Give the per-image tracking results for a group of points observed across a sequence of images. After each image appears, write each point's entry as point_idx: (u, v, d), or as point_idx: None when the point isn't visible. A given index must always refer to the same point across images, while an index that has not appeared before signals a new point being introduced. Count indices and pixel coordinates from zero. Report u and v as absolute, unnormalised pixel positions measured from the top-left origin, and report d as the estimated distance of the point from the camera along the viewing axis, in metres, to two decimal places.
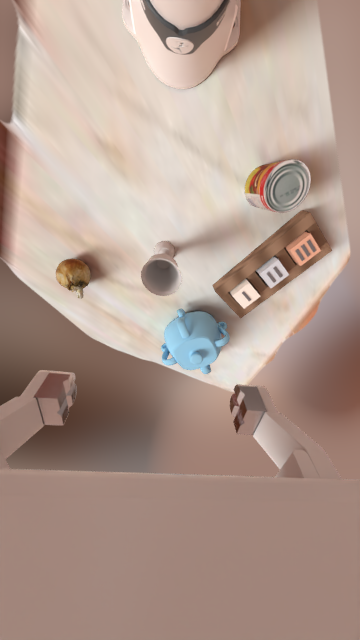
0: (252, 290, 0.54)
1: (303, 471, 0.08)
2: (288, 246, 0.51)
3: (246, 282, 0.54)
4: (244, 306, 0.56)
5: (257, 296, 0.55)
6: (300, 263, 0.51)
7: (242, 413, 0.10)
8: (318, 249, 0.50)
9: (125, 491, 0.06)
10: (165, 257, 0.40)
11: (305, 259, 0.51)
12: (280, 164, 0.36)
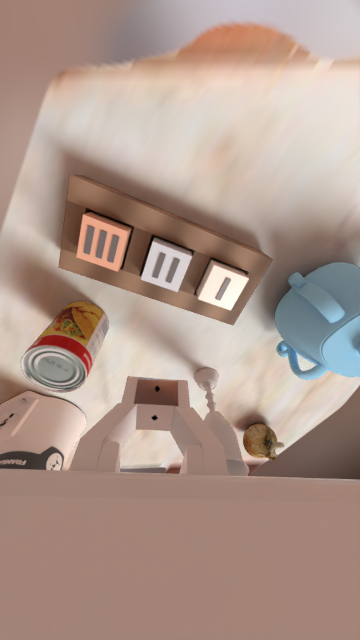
0: (208, 286, 0.29)
1: (189, 467, 0.07)
2: None
3: None
4: (243, 280, 0.29)
5: (216, 270, 0.28)
6: (124, 235, 0.26)
7: None
8: (84, 221, 0.25)
9: (125, 491, 0.06)
10: None
11: (113, 232, 0.25)
12: (45, 388, 0.30)
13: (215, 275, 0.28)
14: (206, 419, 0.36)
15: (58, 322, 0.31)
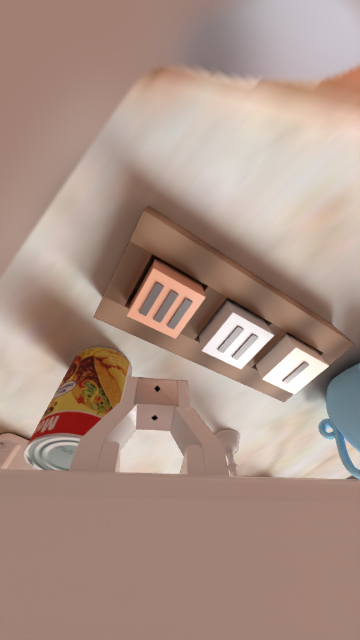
0: (279, 368, 0.24)
1: (189, 467, 0.07)
2: None
3: None
4: (322, 367, 0.24)
5: (296, 353, 0.23)
6: (199, 301, 0.19)
7: None
8: (152, 277, 0.18)
9: (125, 491, 0.06)
10: None
11: (186, 295, 0.19)
12: None
13: (292, 358, 0.23)
14: None
15: (79, 386, 0.23)
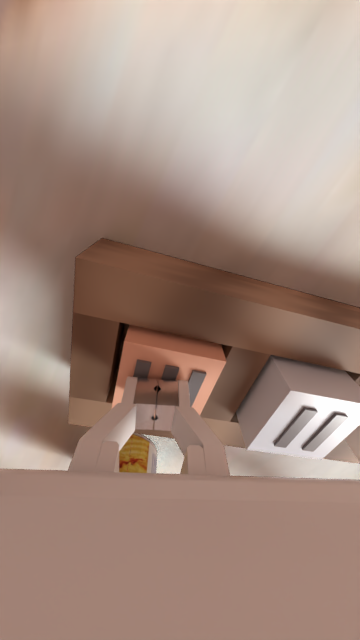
0: None
1: (190, 467, 0.07)
2: None
3: None
4: None
5: None
6: (217, 369, 0.11)
7: (156, 408, 0.10)
8: (128, 353, 0.11)
9: (125, 491, 0.06)
10: None
11: (192, 366, 0.11)
12: None
13: None
14: None
15: None
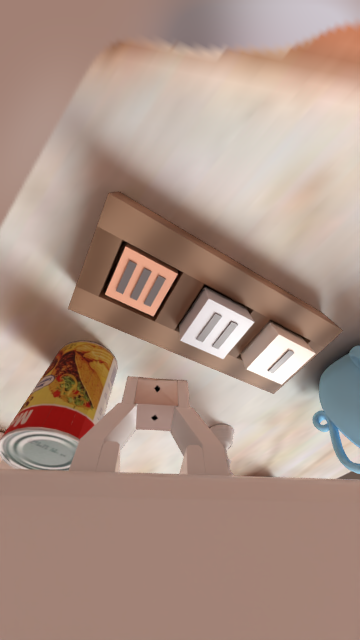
0: (263, 357, 0.23)
1: (189, 467, 0.07)
2: None
3: None
4: (308, 355, 0.23)
5: (279, 340, 0.22)
6: (172, 278, 0.20)
7: None
8: (125, 255, 0.19)
9: (125, 491, 0.06)
10: None
11: (159, 272, 0.20)
12: None
13: (276, 346, 0.22)
14: None
15: (57, 380, 0.22)
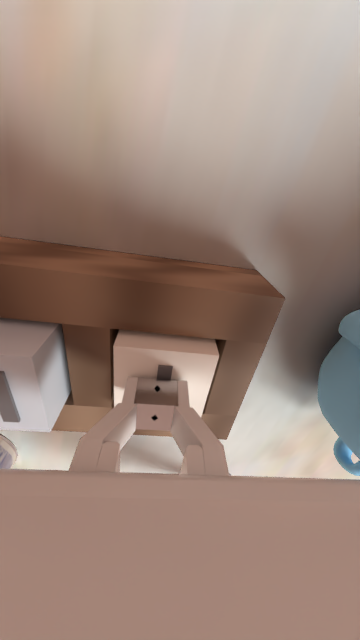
0: None
1: (189, 467, 0.07)
2: None
3: None
4: (207, 362, 0.11)
5: (126, 356, 0.11)
6: None
7: None
8: None
9: (125, 491, 0.06)
10: None
11: None
12: None
13: (129, 366, 0.11)
14: None
15: None
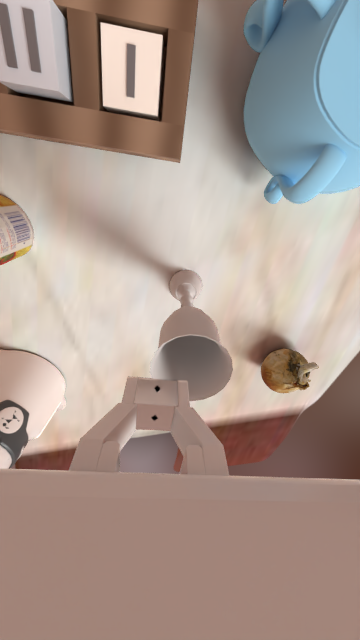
0: (108, 73, 0.19)
1: (189, 467, 0.07)
2: None
3: (110, 109, 0.21)
4: (156, 42, 0.19)
5: (108, 33, 0.18)
6: None
7: None
8: None
9: (125, 491, 0.06)
10: (161, 360, 0.21)
11: None
12: None
13: (110, 45, 0.19)
14: None
15: None
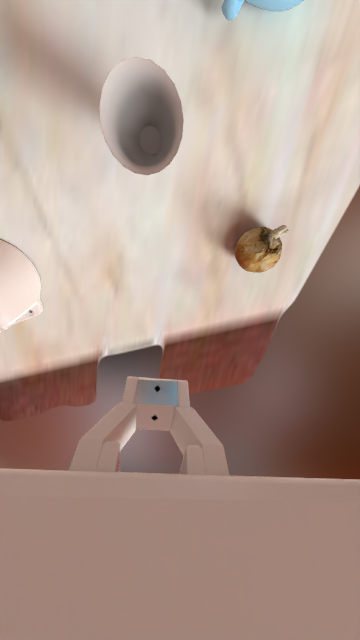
0: None
1: (189, 467, 0.07)
2: None
3: None
4: None
5: None
6: None
7: None
8: None
9: (125, 491, 0.06)
10: None
11: None
12: None
13: None
14: (132, 126, 0.24)
15: None
